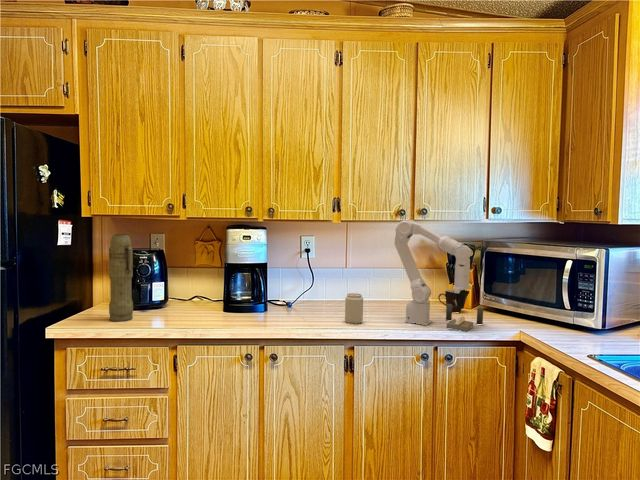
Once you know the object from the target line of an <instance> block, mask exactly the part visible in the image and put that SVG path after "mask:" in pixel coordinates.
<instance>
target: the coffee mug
mask: <svg viewBox="0 0 640 480" xmlns="http://www.w3.org/2000/svg"><path fill="white" fill-rule="evenodd" d="M453 291H454V288H453V289H450V288H447V289H445V290H444V293H440V294H438V301H439V302H440V303H441V304H443V305H444V306H445V307H446V305H447V304H452V312H462V309H459V308H457V302H456V298H455V295H454V293H453ZM441 296H445V302H443V301H442V300H441V299H440V297H441Z"/></svg>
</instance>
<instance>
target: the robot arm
mask: <svg viewBox="0 0 640 480" xmlns="http://www.w3.org/2000/svg"><path fill="white" fill-rule="evenodd" d="M413 235H420V236H423V237H424V238H427V239H428V240H430V241H432V242H434V243H436V244H437V245H438V248H440V250H443V251H445V252H446V253H448V254H449V255H451V256H454V257H455V267H454V285H453V289H454V291H453V293H454V295H455V298H456V302H457V308H459V309H461V310H463V309H464V308H465V304H466V300H467V298H468V297H469V295H470V290H472V289H473V286H470V275H471V274H470V273H471V272H470V271H471V259H470V257H471V255H472V250H471V248H470V247H469V246H468V245H466V244H463V242H459V241H457V240H456V239H453V237H452V236H451V235H444V236H441V235H439V234H438V233H436V232H435V231H433V230H431V229H429V228H428V227H426V226H424V225H423V224H420V223H418V222H415V220H411V219H410V220H409V219H408V220H400V221H399V223H398V224H397V226H396V227H395V237H394V246H395V248H396V251H397V253H398V256H399V258H400V260H401V263H402V265H403V268H404V271H405V272H406V275H407V276H408V277H407V278H408V280H409V282H410V283H409V284H410V290H411V298H412V300H408V301H407V303H406V306H405V307H406V308H405V320H404V322H405V323H408V324H414V323H416V324H415V325H420V324H422V325H421V326H428V325H429V323H430V324H432V323H433V320H430V314H431V313H430V311H431V310H430V309H431V300H430V299H429V298H430V297H431V295H432V290H431V288H430V286H428V285H427V283H426V281H425V280H424V278H423V277H422V275H421V272H420V270H419V269H418V266H417V263H416V260H415V258H414V256H413V254H412V252H411V250H410V247H409V245H408V244H409V242H410V239H411V237H412V236H413ZM427 324H428V325H427Z"/></svg>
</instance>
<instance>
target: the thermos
mask: <svg viewBox="0 0 640 480" xmlns="http://www.w3.org/2000/svg"><path fill="white" fill-rule="evenodd" d="M133 251H134V249H133V247H132V240H131V238H130V235H128V233H127V234H125V233H115V234H113V235H112V236H111V239H110V246H109V248H108V253H109V254H108V255H109V256H108V257H109V258H108V259H109V260H108V261H109V263H108V277H109V281H110V288H109V289H110V301H109V304H108V314H109V321H110V322H114V323H120V322H121V323H122V322H129V321H132V320H133V318H134V317H133V313H134V301H133V298H132V294H133V293H132V290H133V289H132V280H133V279H132V278H133V277H134V274H133V273H134V271H133V270H134V269H133V268H134V264H133V263H134V257H133V255H134V252H133Z"/></svg>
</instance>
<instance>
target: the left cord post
mask: <svg viewBox="0 0 640 480" xmlns="http://www.w3.org/2000/svg"><path fill="white" fill-rule="evenodd" d="M445 307H446V308H445V309H446V310H445V320H446V319H447V320H453V319H452V317H453V313H452V304H447V305H446V306H445ZM447 320H446V321H447Z"/></svg>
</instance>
